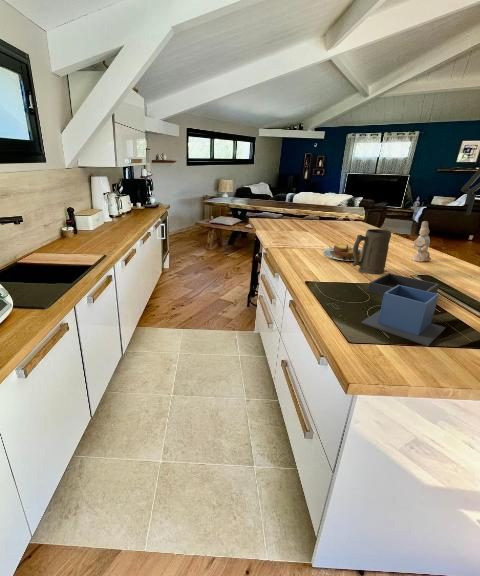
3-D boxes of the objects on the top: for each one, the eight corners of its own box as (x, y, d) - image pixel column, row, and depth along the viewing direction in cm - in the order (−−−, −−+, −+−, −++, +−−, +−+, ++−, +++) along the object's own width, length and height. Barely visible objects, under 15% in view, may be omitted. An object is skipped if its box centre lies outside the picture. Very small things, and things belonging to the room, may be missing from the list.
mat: (447, 326, 96) (448, 324, 96) (428, 346, 86) (428, 344, 85) (384, 308, 109) (385, 306, 109) (360, 323, 99) (361, 321, 99)
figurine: (414, 257, 170) (423, 220, 163) (432, 260, 163) (442, 222, 156) (407, 260, 165) (416, 221, 158) (425, 263, 159) (436, 223, 152)
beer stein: (374, 268, 153) (379, 227, 145) (391, 274, 143) (397, 231, 135) (345, 272, 151) (349, 231, 143) (360, 279, 141) (365, 235, 133)
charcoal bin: (435, 295, 119) (439, 283, 118) (419, 308, 109) (423, 295, 107) (386, 283, 132) (388, 272, 130) (367, 293, 122) (369, 282, 120)
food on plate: (383, 262, 161) (386, 250, 159) (337, 264, 159) (339, 252, 157) (354, 250, 185) (356, 239, 183) (314, 252, 183) (315, 241, 180)
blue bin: (430, 324, 96) (439, 294, 93) (418, 335, 90) (426, 303, 86) (391, 312, 104) (398, 284, 101) (377, 322, 98) (384, 292, 95)
